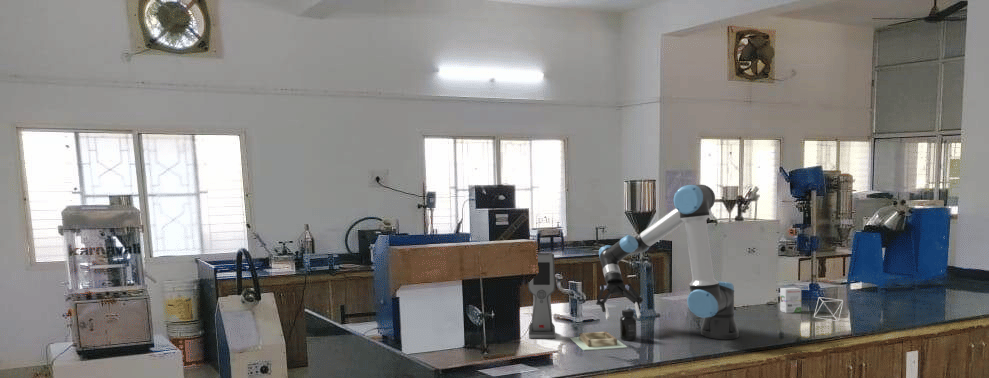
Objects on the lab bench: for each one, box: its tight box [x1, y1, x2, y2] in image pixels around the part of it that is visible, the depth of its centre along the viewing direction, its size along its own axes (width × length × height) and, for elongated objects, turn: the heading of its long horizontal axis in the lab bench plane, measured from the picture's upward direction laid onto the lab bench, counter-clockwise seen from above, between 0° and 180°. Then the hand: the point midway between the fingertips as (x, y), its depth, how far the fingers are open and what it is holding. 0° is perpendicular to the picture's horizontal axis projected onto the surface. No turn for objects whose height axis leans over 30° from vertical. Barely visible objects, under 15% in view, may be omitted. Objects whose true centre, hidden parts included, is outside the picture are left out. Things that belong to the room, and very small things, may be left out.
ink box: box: [779, 287, 802, 314], centre depth 296 cm, size 8×5×12 cm, turn 99°
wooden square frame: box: [578, 331, 618, 347], centre depth 243 cm, size 12×12×2 cm
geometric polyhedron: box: [813, 296, 844, 322], centre depth 282 cm, size 12×11×9 cm
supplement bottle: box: [619, 309, 638, 342], centre depth 249 cm, size 7×7×12 cm
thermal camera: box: [527, 252, 556, 340], centre depth 257 cm, size 12×13×35 cm
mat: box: [569, 336, 628, 351], centre depth 243 cm, size 18×18×1 cm
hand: (623, 317), depth 252 cm, fingers open, 13 cm apart
